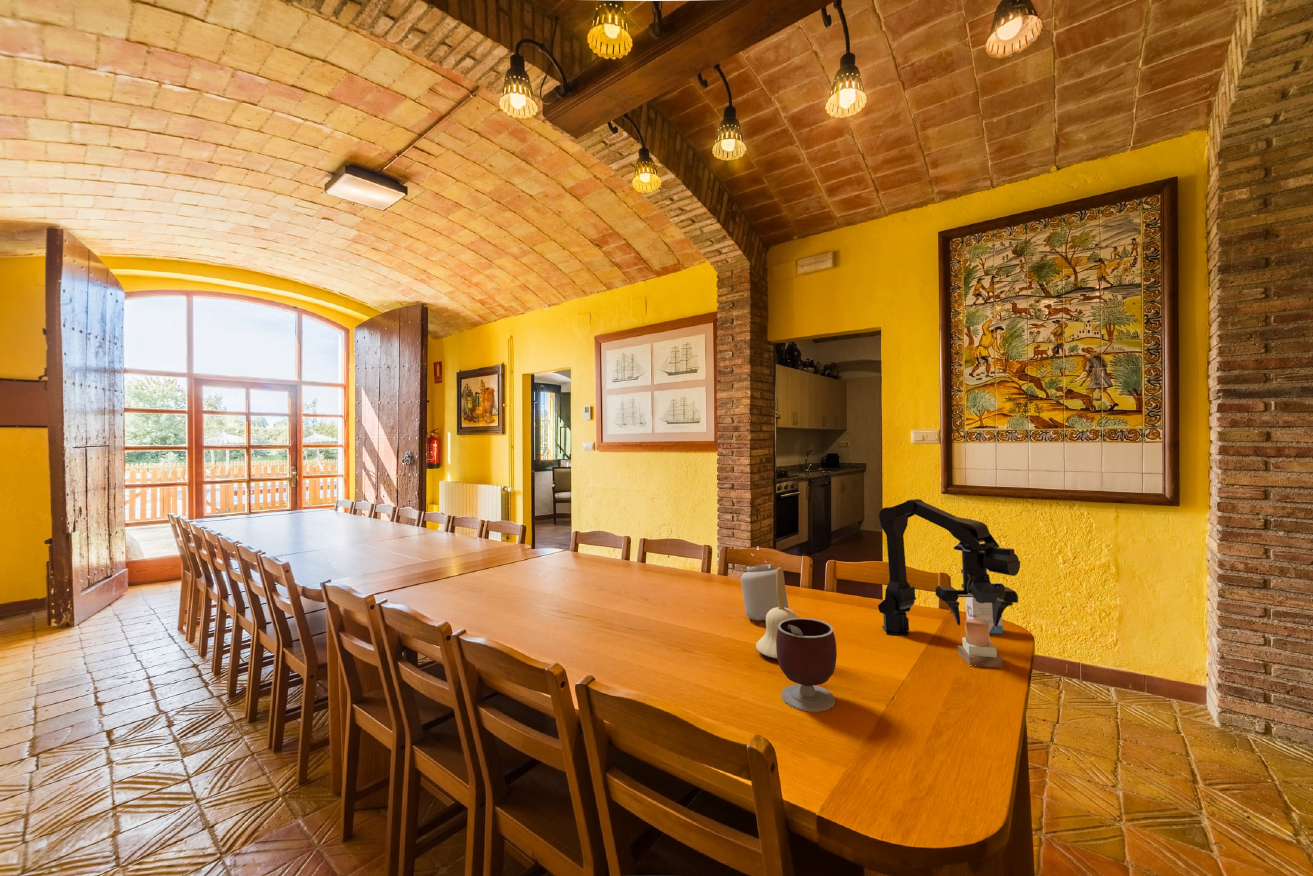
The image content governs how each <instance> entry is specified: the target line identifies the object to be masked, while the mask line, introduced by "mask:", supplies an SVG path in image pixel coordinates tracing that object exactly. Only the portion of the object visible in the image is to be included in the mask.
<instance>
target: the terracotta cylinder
mask: <svg viewBox="0 0 1313 876" xmlns="http://www.w3.org/2000/svg"><path fill="white" fill-rule="evenodd" d="M964 625H965V637H966V642H967V643H968V644H971V645H974V646H979V647H986V646H989V645H990V641H991V639H990V634H989V623H987V622H985V621H982V620H977V619H968V620H967V619H966V620H964Z"/></svg>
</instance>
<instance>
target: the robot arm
mask: <svg viewBox="0 0 1313 876" xmlns="http://www.w3.org/2000/svg"><path fill="white" fill-rule="evenodd" d="M913 516H917V517H919V518H922V519H924V520H925V521H928V522H929V523H932V524H934V525H936V526H939V527H940V528H943V529H945V530H946V531H948V532H949V533H950V535H952V537H954V538H955V539H956V540H957V541H959V542H958V544H956V545H955V546H953V550H955V551H961V562H962V563H961V565H962V569H960V573H961V574H962V583H961V588H962V589H956V588H954V587H953V586H951V585H937V587H935V596H936V597H937V598H939V599H940V600H941V601H943V602H944V603H946V604H947V605H948V607H949V609H950V611H951V613H952V616H953V619H954V620H955V623H956V625H958V626H961V616H960V608H959V607H960V602H959V601H958V600H959V598H966V597H974V598H975V600H976V601H977V602H978V603H992V612H993V623H994V626H998V623H999V621H1000V618H1001V615H1002V616H1003V613H1004V611H1005V609H1006V608H1007V607H1009V606H1013V604H1014V603H1015V604H1016V603H1019V594H1018V593H1017V591H1015V590H1013V589H1012V588H1010V587H1008V586H1006V585H1004V584H1003V583H992V582H991V579H990V578H991V577H990V575H989V574H988V571H989V572H991V573H996V574H1001V575H1006V576H1010V577H1014V576H1017V575H1018V573H1019V572H1020V568H1021V561H1020V558H1019V557H1018V555H1017V554H1016V553H1015V549H1014V548H1011V547H1009V548H1007V547H1000V544H999V543H998V542H997V541H996V539H995V537H994V536H993V535H992V534H991V533H990V530H989V528H988V525H986V523H984V522H982V521H979V520H975V519H971V518H964V517H959V516H957V515H954V514H952V513H949V512H947V511H945V510H943V509H940V508H937V507H936V506H934V505H932V504H929V503H927V502H925V501H923V500H922V499H920V498H914V499H908V500H906V501H904V502H901V503H899V504H897V505H896V504H895V505H894V506H890V507H889V506H888V507H882V508H881V509H880V510H879V512H878V518H879V523H880V527H881V529H882V531H883V532H884V533H885V536H886V547H887V549H886V551H887V562H888V563H887V564H888V573H889V575H888V577H889V580H888V583H887V585H886V588H885V592H884V593H885V594H884V599H883V600H882V601H881V602H880V603H878V605H877V608H878V611H879V613H880V614H882V615H883V616H882V617H883V625H881V626H882V629H883V630H884V632H885V634H886V635H897V636H898V635H900V636H901V635H902V636H909V635H910V633H909V631H910V625H909V624H910V621H909V617H908V616H907V613H909V612H911V609H912V607H913V606H914V604H915V602H916V600H917V598H916V588H915V586H911V585H910V583H909V582H908V578H907V567H906V566H907V565H906V564H907V563H906V553H905V552H906V551H905V541H904V540H905V539H904V536H905V533H906V530H907V528H908V523H909V518H912V517H913Z"/></svg>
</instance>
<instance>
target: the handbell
mask: <svg viewBox="0 0 1313 876" xmlns="http://www.w3.org/2000/svg"><path fill="white" fill-rule="evenodd" d="M776 569H777V573H776V592H777V599H778V604H779V606H778V607H776V608H773V609H771V610H770V611H769V612H768V613H767V615H766V620H765V634H763V636H762V637H761V638H760V639H759V640H758V641H757V642H756V644H755V649H756V650H757V651H758V652H759V653H760V654H762V655H764V656H766V657H769V658H773V659H778V657H777V651H776V637H777V630H778V624H779V623H780V622H782V621H784V620H787V619H794V618H798V615H797V614H796V612H795V611H793V610H792V609H790V608H785V607H784V599H785V590H786V585H785V584H786V583H785V574H784V573H785V572H784V569H783V568H782V567H779V566H778V567H777V568H776Z"/></svg>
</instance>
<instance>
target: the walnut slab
mask: <svg viewBox="0 0 1313 876" xmlns="http://www.w3.org/2000/svg"><path fill="white" fill-rule="evenodd" d="M957 652H958V653H957V654H958V656H959V657H960V656H961V657H962V658H963V659H964V660H965V661H966V662H967V663H966V662H965V661H964V660H963V659H962V660H963V661H964V662H965V663H966V664H967V665H968V664H969V665H972V666H975V665H976V666H988V667H987V668H995V667H1003V668H1004V662H1003V661H1004V660H1003V657H1001V656H1000V655H999V654H998V653H997V658H995V657H983V656H972V655H969V654H968V653H967V652H966V650H965V649H964V647H963V645H957ZM961 657H960V658H961ZM969 665H968V666H969ZM972 666H971V667H972ZM990 666H991V667H990Z"/></svg>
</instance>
